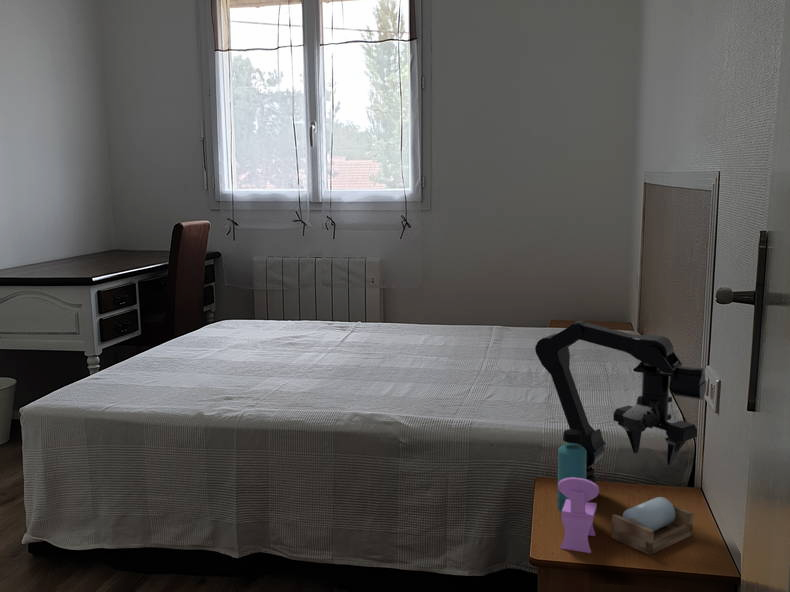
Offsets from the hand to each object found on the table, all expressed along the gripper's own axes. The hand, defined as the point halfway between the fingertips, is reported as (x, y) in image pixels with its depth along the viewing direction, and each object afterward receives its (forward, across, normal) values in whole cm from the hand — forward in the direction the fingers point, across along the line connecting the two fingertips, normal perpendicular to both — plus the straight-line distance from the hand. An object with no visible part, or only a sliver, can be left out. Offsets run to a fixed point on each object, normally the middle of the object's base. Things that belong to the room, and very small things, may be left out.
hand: (652, 458), depth 172 cm
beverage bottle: (+12, -8, -18) cm, 23 cm away
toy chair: (+12, +1, -26) cm, 28 cm away
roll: (+11, +9, -11) cm, 18 cm away
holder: (+12, +9, -11) cm, 19 cm away
